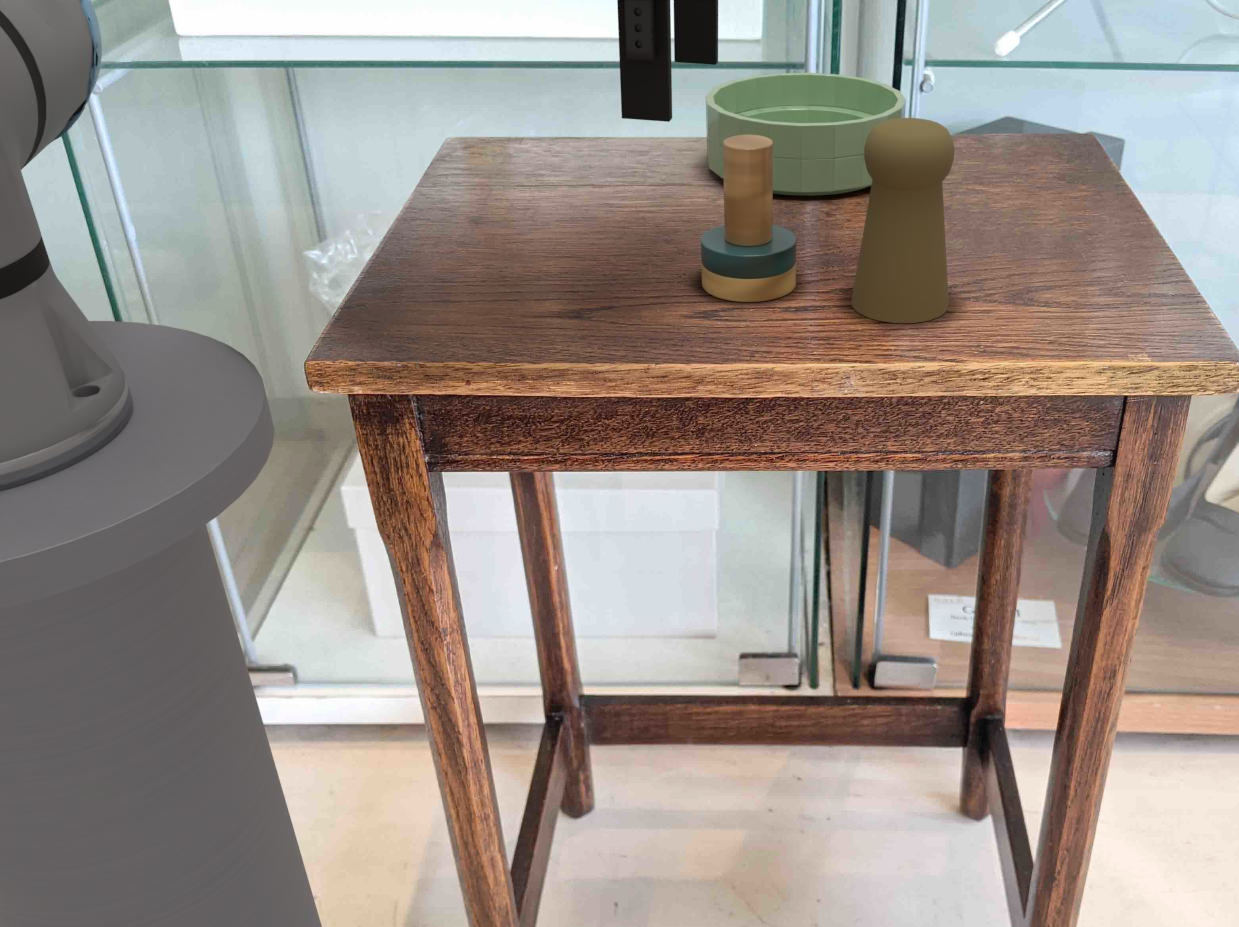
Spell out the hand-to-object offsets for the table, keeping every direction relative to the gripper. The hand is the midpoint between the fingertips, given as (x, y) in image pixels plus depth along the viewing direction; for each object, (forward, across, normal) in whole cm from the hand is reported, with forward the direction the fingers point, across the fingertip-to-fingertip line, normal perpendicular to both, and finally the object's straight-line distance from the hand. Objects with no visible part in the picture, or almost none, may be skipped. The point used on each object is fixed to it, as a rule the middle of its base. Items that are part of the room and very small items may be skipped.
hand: (673, 89), depth 78 cm
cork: (+12, -3, -15) cm, 19 cm away
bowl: (+11, +23, -5) cm, 26 cm away
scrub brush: (+12, -1, -5) cm, 13 cm away
